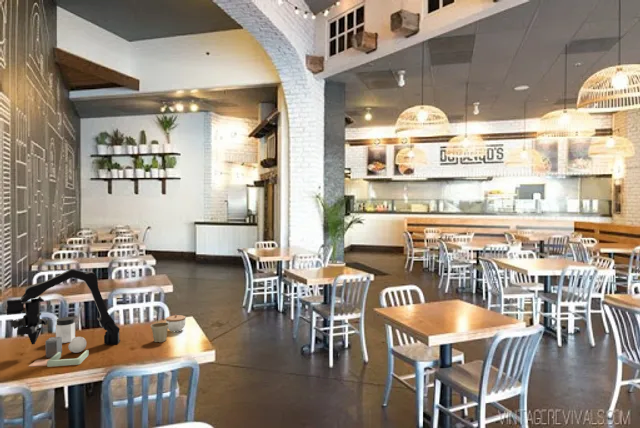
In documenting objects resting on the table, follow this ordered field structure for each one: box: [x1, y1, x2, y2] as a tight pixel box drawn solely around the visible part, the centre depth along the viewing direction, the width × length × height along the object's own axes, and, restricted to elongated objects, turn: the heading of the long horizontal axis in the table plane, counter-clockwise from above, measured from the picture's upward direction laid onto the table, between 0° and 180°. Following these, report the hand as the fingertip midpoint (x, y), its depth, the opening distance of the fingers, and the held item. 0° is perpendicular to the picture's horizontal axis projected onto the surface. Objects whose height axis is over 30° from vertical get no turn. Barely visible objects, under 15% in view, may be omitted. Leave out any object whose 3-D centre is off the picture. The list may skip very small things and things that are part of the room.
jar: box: [55, 316, 76, 344], centre depth 238 cm, size 9×8×12 cm
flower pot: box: [150, 322, 169, 343], centre depth 237 cm, size 9×9×9 cm
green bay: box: [47, 349, 90, 368], centre depth 207 cm, size 13×13×2 cm
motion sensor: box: [67, 336, 87, 354], centre depth 219 cm, size 8×8×8 cm
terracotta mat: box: [28, 358, 50, 368], centre depth 204 cm, size 8×8×1 cm
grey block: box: [44, 336, 63, 359], centre depth 215 cm, size 5×6×8 cm
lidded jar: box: [165, 314, 186, 333], centre depth 256 cm, size 11×11×9 cm
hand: (33, 344), depth 213 cm, fingers closed
